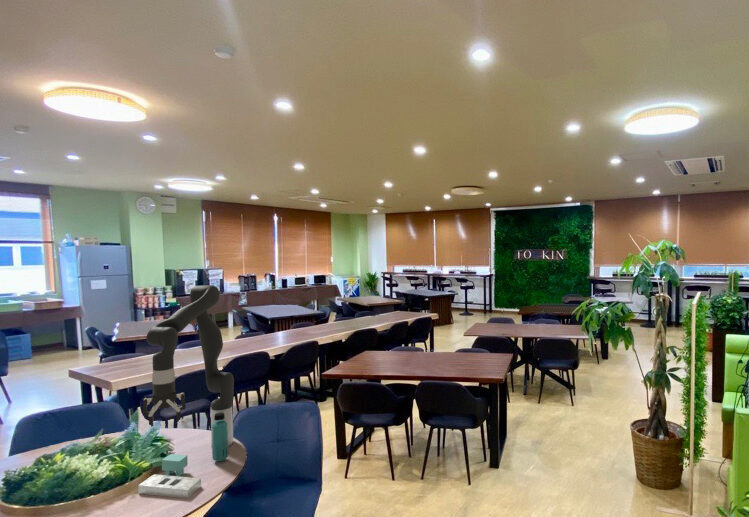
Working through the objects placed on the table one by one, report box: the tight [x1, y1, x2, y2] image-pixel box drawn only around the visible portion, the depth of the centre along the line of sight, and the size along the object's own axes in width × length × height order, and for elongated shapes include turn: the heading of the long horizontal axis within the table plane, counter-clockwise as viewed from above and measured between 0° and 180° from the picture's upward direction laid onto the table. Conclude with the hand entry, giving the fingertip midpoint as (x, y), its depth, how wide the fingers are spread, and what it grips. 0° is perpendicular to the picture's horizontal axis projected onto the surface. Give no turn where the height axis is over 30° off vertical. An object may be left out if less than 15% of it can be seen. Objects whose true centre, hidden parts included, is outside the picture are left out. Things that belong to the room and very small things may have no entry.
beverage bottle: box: [211, 413, 229, 462], centre depth 179 cm, size 6×7×20 cm
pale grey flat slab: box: [137, 474, 202, 499], centre depth 156 cm, size 8×20×3 cm, turn 79°
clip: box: [161, 453, 189, 477], centre depth 168 cm, size 8×5×6 cm
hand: (165, 423), depth 158 cm, fingers open, 8 cm apart
